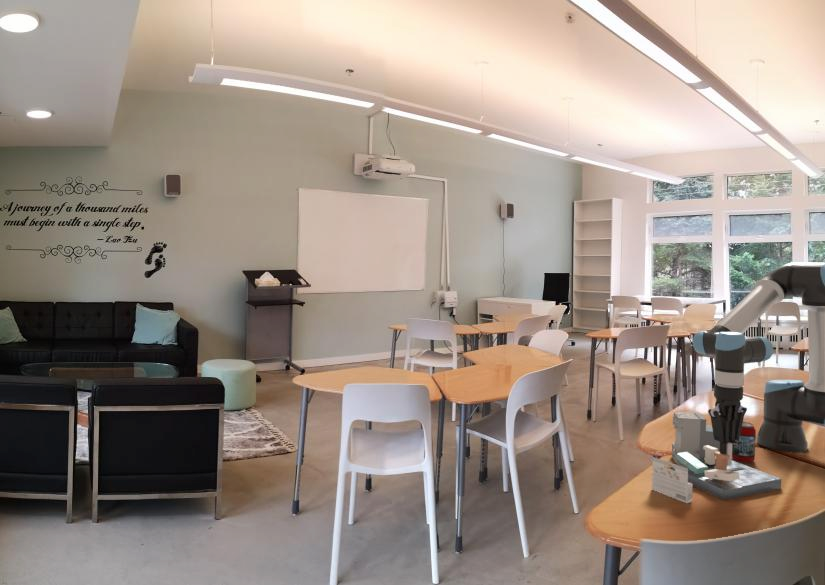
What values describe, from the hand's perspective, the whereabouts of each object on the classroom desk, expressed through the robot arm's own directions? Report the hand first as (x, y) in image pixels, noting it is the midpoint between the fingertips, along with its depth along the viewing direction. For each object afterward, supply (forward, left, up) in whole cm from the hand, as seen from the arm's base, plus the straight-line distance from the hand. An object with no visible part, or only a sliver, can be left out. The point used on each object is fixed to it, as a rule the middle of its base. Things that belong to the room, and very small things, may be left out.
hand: (725, 463), depth 172 cm
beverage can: (-21, -12, -5) cm, 25 cm away
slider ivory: (0, -6, -2) cm, 6 cm away
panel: (+1, 0, -5) cm, 5 cm away
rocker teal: (+9, -5, 0) cm, 10 cm away
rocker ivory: (+9, +6, 0) cm, 10 cm away
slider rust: (+2, 0, -2) cm, 2 cm away
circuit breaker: (-6, -16, -5) cm, 17 cm away
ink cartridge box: (+23, +2, -6) cm, 24 cm away
